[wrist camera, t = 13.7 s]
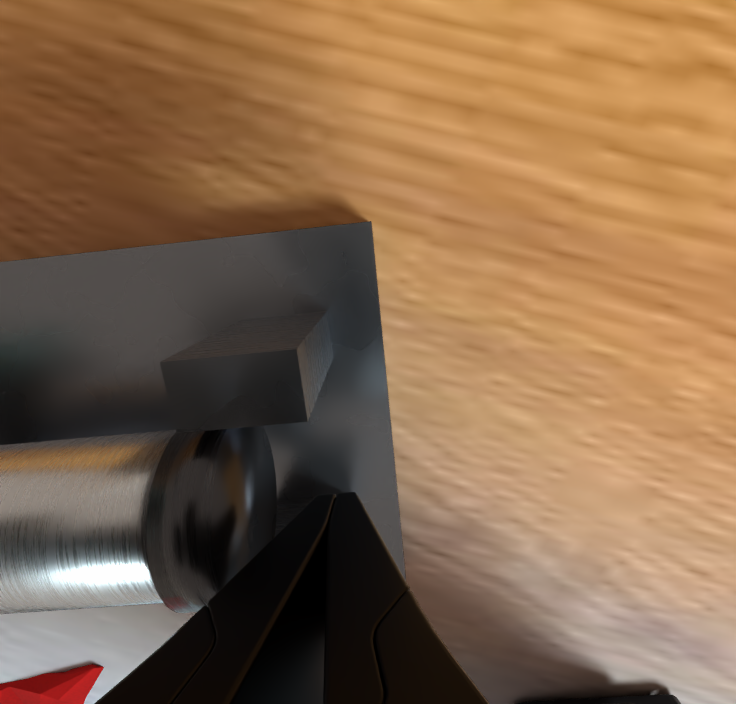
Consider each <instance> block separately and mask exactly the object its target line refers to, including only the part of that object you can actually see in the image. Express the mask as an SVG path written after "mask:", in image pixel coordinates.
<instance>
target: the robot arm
mask: <svg viewBox="0 0 736 704" xmlns="http://www.w3.org/2000/svg"><path fill="white" fill-rule="evenodd" d="M95 704H489V702H488V701H487V700H486V698H485V697H484V696H483V695H482V693H481V692H480V691H479V689H478V688H477V687H476V685H475V684H474V683H473V681H472V680H471V679H470V678H469V676H468V675H467V674H466V672H465V671H464V670H463V668H462V667H461V666H460V665H459V663H458V662H457V661H456V659H455V658H454V657H453V655H452V654H451V653H450V651H449V650H448V648H447V647H446V646H445V644H444V643H443V641H442V640H441V639H440V637H439V636H438V634H437V633H436V632H435V630H434V629H433V627H432V625H431V624H430V622H429V620H428V619H427V617H426V615H425V614H424V612H423V611H422V609H421V607H420V606H419V604H418V602H417V600H416V598H415V597H414V595H413V593H412V592H411V591H410V588H409V586H408V584H407V583H406V581H405V579H404V577H403V575H402V574H401V572H400V570H399V568H398V566H397V565H396V563H395V561H394V559H393V557H392V556H391V554H390V552H389V550H388V548H387V547H386V545H385V543H384V541H383V539H382V538H381V536H380V534H379V532H378V530H377V529H376V527H375V525H374V523H373V521H372V520H371V518H370V516H369V514H368V512H367V511H366V509H365V507H364V505H363V503H362V502H361V500H360V498H359V496H358V494H357V493H356V492H345V493H339V494H337V496H336V494H322V495H317V496H316V497H315V498H314V499H313V500H312V501H311V502H310V503H309V504H308V505H307V506H306V507H305V508H304V509H302V510H301V511H300V512H299V513H298V514H297V515H296V516H295V517H294V518H293V519H292V520H291V521H290V522H289V523H288V524H287V525H286V526H285V527H284V528H283V529H282V530H281V531H280V532H279V533H278V534H277V535H276V536H275V537H274V538H273V539H272V540H271V541H270V542H269V543H268V544H267V545H266V546H265V547H264V548H263V549H262V550H260V551H259V552H258V553H257V554H256V555H255V556H254V557H253V558H252V559H251V560H250V561H249V562H248V563H247V564H246V565H245V566H244V567H243V568H242V569H241V570H240V571H239V572H238V573H237V574H236V575H235V576H234V577H233V578H232V579H231V580H230V581H229V582H228V583H227V584H226V585H225V586H224V587H223V588H222V589H221V590H219V591H218V592H217V593H216V594H215V595H214V596H213V597H212V598H211V599H210V600H209V601H208V602H207V606H203V607H202V608H201V609H200V610H199V611H198V612H197V613H196V614H195V615H194V616H193V617H192V618H191V619H190V620H189V621H188V622H186V623H185V624H184V625H183V626H182V627H181V628H180V629H179V630H178V631H177V632H176V633H175V634H174V635H173V636H172V637H170V638H169V639H168V640H167V641H166V642H165V643H164V644H163V645H162V646H161V647H160V648H159V649H157V650H156V651H155V652H154V653H153V654H152V655H151V656H149V657H148V658H147V659H146V660H145V661H144V662H143V663H141V664H140V665H139V666H138V667H137V668H136V669H135V670H133V671H132V672H131V673H130V674H129V675H128V676H126V677H125V678H124V679H123V680H122V681H121V682H119V683H118V684H117V685H116V686H115V687H113V688H112V689H111V690H110V691H109V692H108V693H106V694H105V695H104V696H103V697H102V698H100V699H99V700H98V701H97V702H96V703H95ZM519 704H681V703H680V701H679V700H678V699H677V698H676V697H675V696H673V695H667V694H666V695H647V696H629V697H610V698H592V699H573V700H555V701H536V702H523V703H519Z"/></svg>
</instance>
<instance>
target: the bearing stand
mask: <svg viewBox="0 0 736 704" xmlns="http://www.w3.org/2000/svg"><path fill="white" fill-rule="evenodd" d="M253 426H263V428H264V429H265V432H266V434H267V436H268V439H269V442H270V446H271V450H272V454H273V459H274V466H275V474H276V486H277V517H276V530H275V536H276V535H277V534H278V533H279V532H280V531H281V530H282V529H283V528H284V527H285V526H286V525H287V524H288V523H289V522H290V521H291V520H292V519H293V518H294V517H295V516H296V515H297V514H298V513H299V512H300V511H301V510H302V509H304V508H305V507H306V506H307V505H308V504H309V503H310V502H311V501H312V500H313V499H314V498H315V497H316V496H317V495H322V494H336V496H337V494H339V493H345V492H356V493H357V494H358V496H359V498H360V500H361V502H362V503H363V505H364V507H365V509H366V511H367V512H368V514H369V516H370V518H371V520H372V521H373V523H374V525H375V527H376V529H377V530H378V532H379V534H380V536H381V538H382V539H383V541H384V543H385V545H386V547H387V548H388V550H389V552H390V554H391V556H392V557H393V559H394V561H395V563H396V565H397V566H398V568H399V570H400V572H401V574H402V575H403V577H404V579H405V581H406V576H405V564H404V554H403V544H402V533H401V523H400V512H399V502H398V492H397V481H396V471H395V461H394V450H393V440H392V430H391V419H390V409H389V398H388V388H387V378H386V367H385V357H384V347H383V336H382V326H381V316H380V305H379V295H378V284H377V274H376V264H375V253H374V243H373V233H372V223H371V221H370V222H361V223H352V224H343V225H334V226H325V227H315V228H306V229H297V230H288V231H279V232H270V233H261V234H252V235H243V236H234V237H224V238H215V239H206V240H197V241H188V242H179V243H170V244H161V245H152V246H143V247H133V248H124V249H115V250H106V251H97V252H88V253H79V254H70V255H61V256H52V257H42V258H33V259H24V260H15V261H6V262H0V445H8V444H20V443H31V442H42V441H54V440H65V439H77V438H88V437H99V436H111V435H122V434H133V433H145V432H156V431H167V430H176V433H185V432H196V431H208V430H219V429H230V428H242V427H253ZM152 604H155V603H152ZM138 605H140V604H138ZM123 606H126V605H123ZM108 607H111V606H108ZM93 608H96V607H93ZM79 609H81V608H79ZM64 610H67V609H64ZM49 611H52V610H49ZM34 612H37V611H34ZM20 613H22V612H20ZM5 614H8V613H5Z"/></svg>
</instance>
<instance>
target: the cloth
mask: <svg viewBox="0 0 736 704" xmlns="http://www.w3.org/2000/svg"><path fill="white" fill-rule="evenodd" d="M103 668H104V667H102V666H97V665H94V664H91V665H87V666H82V667H78V668H74V669H71V670H69V671H66V672H58V673H46V674H41V675H38V676H35V677H31V678H28V679H23V680H18V681H13V682H7V683H2V684H0V704H84V701H85V698H86V696H87V695H88V693H89V691H90V690H91V688H92V686H93V685H94V683H95V681H96V680H97V678H98V676H99V675H100V673H101V671H102V670H103Z"/></svg>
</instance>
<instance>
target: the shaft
mask: <svg viewBox="0 0 736 704" xmlns="http://www.w3.org/2000/svg"><path fill="white" fill-rule="evenodd" d="M276 517H277V486H276V474H275V466H274V459H273V454H272V450H271V446H270V442H269V439H268V436H267V434H266V432H265V429H264V428H263V426H253V427H242V428H230V429H219V430H208V431H196V432H185V433H176V430H167V431H156V432H145V433H133V434H122V435H111V436H99V437H88V438H77V439H65V440H54V441H42V442H31V443H20V444H8V445H0V614H5V613H20V612H34V611H49V610H64V609H79V608H93V607H108V606H123V605H138V604H152V603H164V604H165V605H166V606H167V607H168V608H170V609H171V610H173V611H175V612H178V613H190V612H198V611H199V610H200V609H201V608H202V607H203V606H207V602H208V601H209V600H210V599H211V598H212V597H213V596H214V595H215V594H216V593H217V592H218V591H219V590H221V589H222V588H223V587H224V586H225V585H226V584H227V583H228V582H229V581H230V580H231V579H232V578H233V577H234V576H235V575H236V574H237V573H238V572H239V571H240V570H241V569H242V568H243V567H244V566H245V565H246V564H247V563H248V562H249V561H250V560H251V559H252V558H253V557H254V556H255V555H256V554H257V553H258V552H259V551H260V550H262V549H263V548H264V547H265V546H266V545H267V544H268V543H269V542H270V541H271V540H272V539H273V538H274V537H275V530H276Z"/></svg>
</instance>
